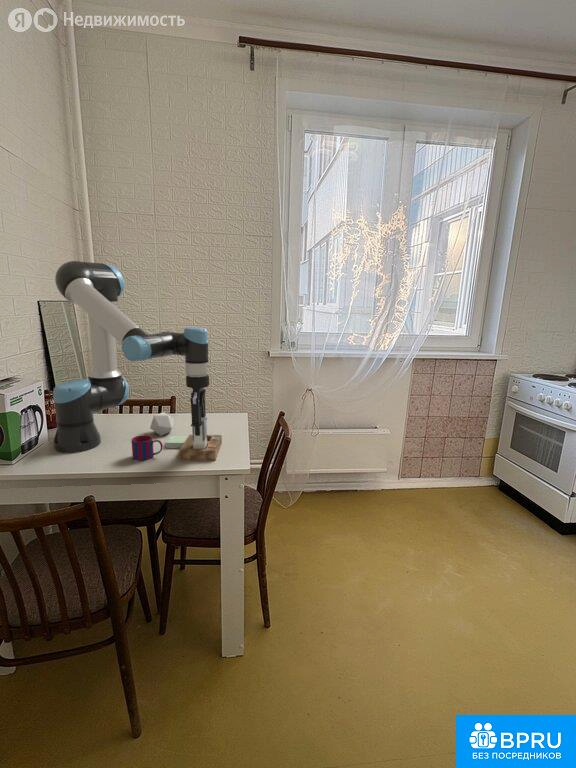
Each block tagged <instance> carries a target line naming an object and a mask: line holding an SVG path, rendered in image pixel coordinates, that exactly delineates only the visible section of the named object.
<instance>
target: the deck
mask: <svg viewBox="0 0 576 768" xmlns="http://www.w3.org/2000/svg"><path fill="white" fill-rule="evenodd" d="M188 436H189V435H170V436H169V438H168V439H167V440H166V441H165V448H166V449H181V447H182V446H183V444H184V442H185V441H186V439H187V438H188Z"/></svg>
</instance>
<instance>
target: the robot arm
mask: <svg viewBox="0 0 576 768" xmlns="http://www.w3.org/2000/svg"><path fill="white" fill-rule="evenodd" d="M54 277H55V279H54V280H55V281H54V282H55V285H56V288H57V290H58V292H59V293H60V295H62V297H64V298H65V299H66V300H67V301H68V302H69V303H71V304H73V305H74V304H75V305H77V306H78V307H79V308H81V309H82V310H83V311H84V313H86V314H87V315H88V326H89V342H90V354H91V356H90V357H91V371H90V372H89V373H88V375H87V377H88V379H86V378H85V379H84V378H76V379H69V380H66V381H63V382H60V383H58V384H57V385H55V387H54V388H53V391H52V392H53V393H52V394H53V397H52V399H53V402H54V410H55V418H56V419H55V420H56V432H55V435H54V439H53V449H54V451H56V452H58V453H59V452H60V453H77V452H78V453H79V452H83V451H89V450H90V449H93V448H94V449H95V448H96V447H98V446H99V445H100V444H101V442H102V439H101V438H102V437H101V433H100V432H99V430H98V428H97V426H96V424H95V421H94V420H95V419H94V413H97V412H101V411H104V410H108V409H111V408H117V406H120V405H122V404H124V403H125V402H126V401H127V399H128V397H129V395H130V386H129V383H128V382H127V379H126V378H125V377H124V376H123V374H122V372H121V370H119V369H118V362H117V361H118V360H117V345H116V344H117V342H119V344H121V351H122V352H121V353H123V356H124V358H126V359H127V360H128V361H130V362H138V361H139V362H142V361H143V362H144V361H147V360H151V359H156V358H162V357H169V356H182V357H184V361H185V362H184V363H185V364H184V366H185V370H184V371H185V375H186V376H185V385H186V387H187V388H189V389H192V392H190V399H189V400H190V408H191V410H190V411H191V412H190V413H191V424H190V427H192V426H194V444H203V437H202V425H201V417H206V416H207V414H206V391H207V390H206V389H205V388H207V387H209V386H210V375H208V374H209V373H210V368H211V364H209V360H210V359H209V336H208V335H209V334H208V329H207V328H205V327H198V326H197V327H193V326H191V327H185V328H184V330H183V332H174V331H172V332H171V331H159V332H157V333H152V334H149V333H147V332H146V331H145V330H143V329H142V328H141V327H140V326H138V325H137V323H135V322H134V321H132V319H130V318H129V317H128V316H127V315H126V314H125V313H124V312H122V310H120V309H119V308H118V307H116V305H117V303H118V302H119V299H118V298H119V297H120V296H122V294H123V292H124V291H125V280H124V277H123V275H122V272H121V271H119V270H118V268H117V267H115V266H113V265H111V264H108V263H107V264H106V263H102V262H101V263H100V262H88V261H80V260H70V261H67V262H64V263H63V264H62V265H60V266H59V268H58V269H57V270H56V272H55V276H54ZM116 340H117V341H116ZM206 421H208V417H206Z"/></svg>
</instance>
